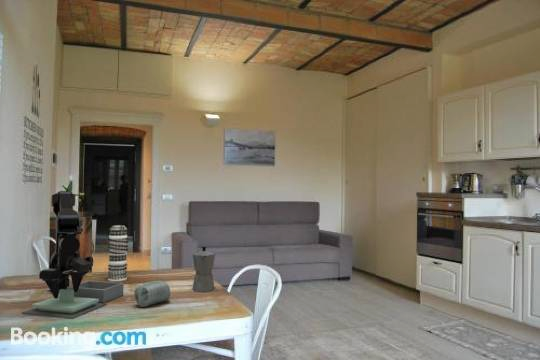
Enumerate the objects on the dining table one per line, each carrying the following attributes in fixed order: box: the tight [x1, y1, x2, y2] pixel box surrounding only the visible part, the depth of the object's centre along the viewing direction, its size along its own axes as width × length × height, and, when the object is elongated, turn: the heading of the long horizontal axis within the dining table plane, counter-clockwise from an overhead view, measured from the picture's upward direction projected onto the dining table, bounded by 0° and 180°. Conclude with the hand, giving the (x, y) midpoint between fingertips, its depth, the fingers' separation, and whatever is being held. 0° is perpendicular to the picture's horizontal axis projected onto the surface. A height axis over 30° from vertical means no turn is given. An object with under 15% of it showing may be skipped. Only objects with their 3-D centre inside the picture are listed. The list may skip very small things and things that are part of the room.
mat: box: [21, 303, 108, 320], centre depth 142 cm, size 20×17×1 cm
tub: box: [67, 280, 125, 304], centre depth 157 cm, size 16×12×5 cm
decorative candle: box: [107, 224, 130, 282], centre depth 192 cm, size 9×9×25 cm
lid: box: [31, 289, 99, 314], centre depth 142 cm, size 17×13×6 cm
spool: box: [134, 280, 171, 308], centre depth 150 cm, size 14×10×10 cm
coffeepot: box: [191, 246, 216, 293], centre depth 174 cm, size 15×9×18 cm, turn 13°
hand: (66, 295), depth 142 cm, fingers open, 9 cm apart
